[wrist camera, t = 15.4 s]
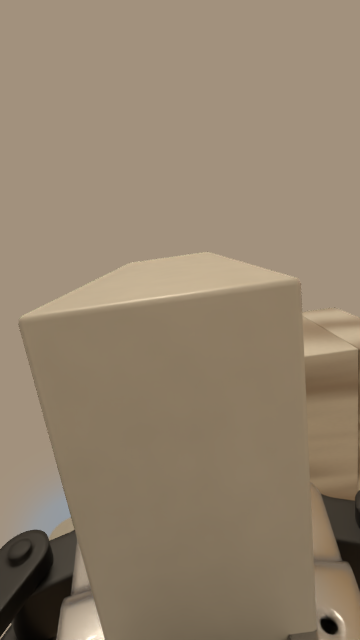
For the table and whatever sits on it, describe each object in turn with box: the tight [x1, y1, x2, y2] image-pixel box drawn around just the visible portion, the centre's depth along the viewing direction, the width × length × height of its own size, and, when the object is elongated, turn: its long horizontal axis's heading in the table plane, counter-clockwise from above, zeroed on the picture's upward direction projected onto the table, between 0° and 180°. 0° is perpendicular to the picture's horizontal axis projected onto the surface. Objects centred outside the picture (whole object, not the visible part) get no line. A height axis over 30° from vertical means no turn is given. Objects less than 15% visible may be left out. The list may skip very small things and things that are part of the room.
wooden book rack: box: [302, 307, 360, 501], centre depth 23 cm, size 12×17×18 cm
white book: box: [19, 252, 317, 640], centre depth 10 cm, size 9×3×17 cm, turn 1°
